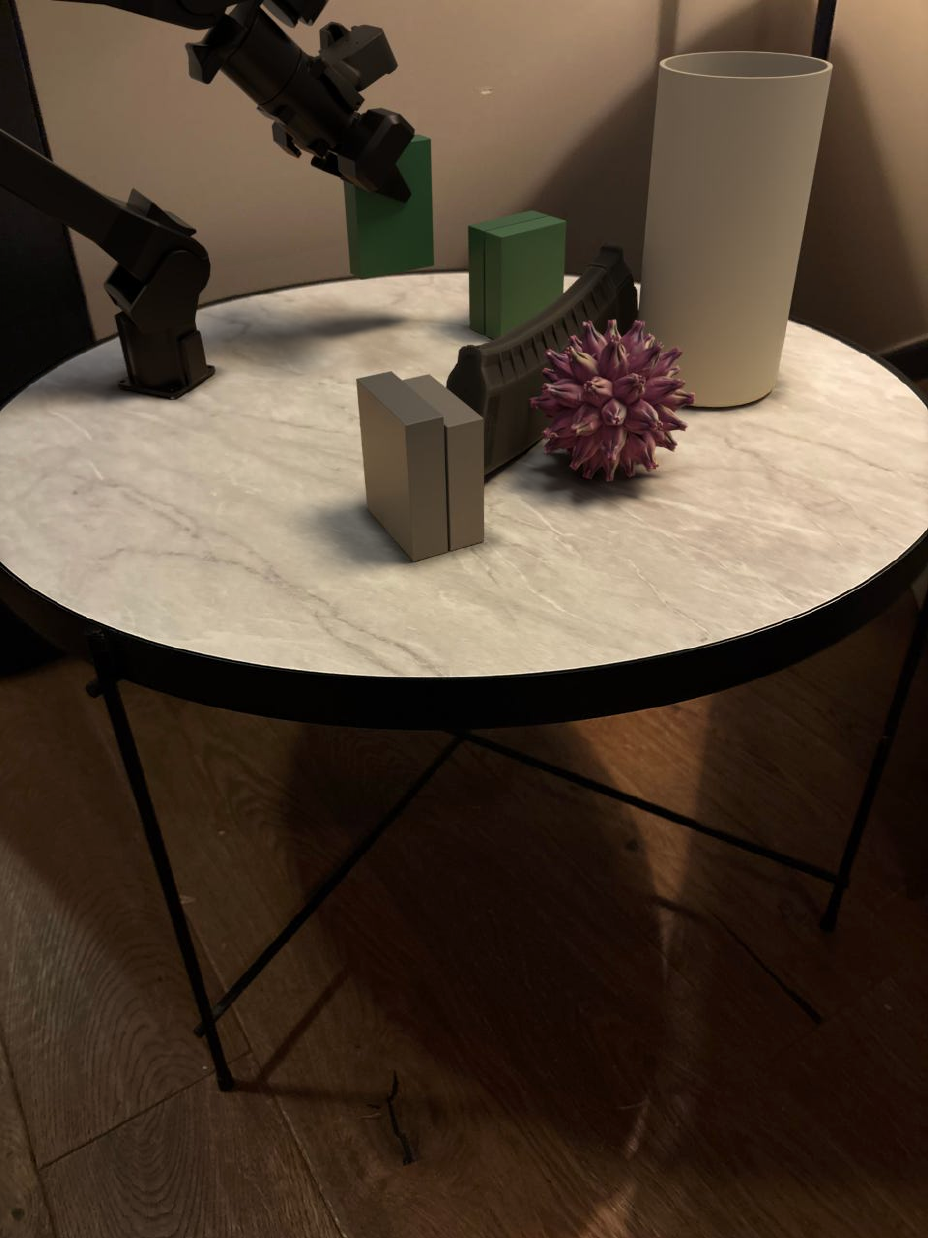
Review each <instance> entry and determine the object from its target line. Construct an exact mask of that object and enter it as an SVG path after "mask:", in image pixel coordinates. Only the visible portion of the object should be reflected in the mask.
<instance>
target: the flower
mask: <svg viewBox="0 0 928 1238" xmlns="http://www.w3.org/2000/svg"><path fill="white" fill-rule="evenodd" d="M644 326H645V321H642V322H640V321H637V320H635V322H634V324H633V326H632V328H631V329H630V330H629V331H628V332H627V333H626V334H625V335H624V336H623V337H622V338H621V336H620V335H619V333H618V331H617V326H616V320H615V319H614V320H611V321H610V320H609V321H608V327H607V330H606V332H605V334H604V336H602V335H601V334H600V333H598V332H597V331H596V330H595V329H594V327H593V324H592V322H591V321H588V323H587V322H583V331H584V335H583V341H582V342H581V341H579V340H578V338H577V337H576V336H575V335H574V336H571V337H570V339H568V341H569V343H570V347H568V348H566V351H565V353H566V354H559V353H555V352H554V351H552V350H550V349H548V350H547V351H546V353H544V354H543V355H544V357H545V358H546V359H547V360H548V361H549V362H550V363H551V366H552V368H553V370H550V369H547V368H544V370H543V371H542V376H544V377H546V378H547V379H549V381H550V382H551V383H552V384H544V386H543V387H542V388H543V392H544V394H542V395H541V396H539V397H535V398H530V399H529V401H530V402H531V403H530V404H531V406H530V407H531V408H537V409H540V410H542V411H543V412H545V416H546V418H554V419H553V421H552V423H551V425H550V426H549V427H548V428H547V429H545V430H544V431H542V433H543V437H542V438H544V440H545V441H547V440H548V441H547V442H545V444H544V446H543V448H545V451H544V452H545V453H546V454H551V453H552V452H555V451H558V450H559V451H560V450H566V451H567V453H568V454H570V455H572V460H571V462H570V464H569V467H570V468H571V469H572V470H574V471H577V470H578V469H579V467H580V466H581V465H582V468H583V470H582V471H583V472H582V478H585V479H587V480H588V479H589V480H592V478H593V476H594V474H595V472H597V471H598V470H599V469H600V468H601V467H603V469H604V472H605V475H606V482H611V481H613V480H614V474H615V471H616V469H617V466H618V465H620V466H622V468H623V469H624V472H625V474H626V476H627V477H629V478H632V477H633V476H634V477H635V475H636V468H635V467H636V463H637V464H640V465H641V466H643V467H644V468H645V470H646V471H647V472H648V473H650V472H651V471H652V470H655V471H656V470H657V468H659V467H660V466H659V463H658V460H657V459H656V447H658V448H665V449H666V450H668V451H670V452H674V453H675V450H676V447H677V446H678V441H676V439H674V438H673V435H672V433H671V432H674V431H682V432H687V431H686V429H687V428H688V427H689V424H688V423H687V422H685V421H683V420H681V419H680V418H679V417H678V416H677V415H676V414H675V412H677V411H678V410H679V409H681V408H682V407H685V406H690V404H694V403H695V402H694V401H695V398H694V396H695V393H689V392H684V391H682V390H680V389H681V388H683V387H684V385H685V384H686V383H685V381H683V380H682V379H675V380H674V379H673V377H674V376H675V375H676V374H678V373H679V372H680V368H679V366H678V365H676V366H674V367H672V365H673V364H674V362H675V361H676V360H677V359H678V358H679V357H680V356H681V355H682V353H683V350H681V351H679V347H676V348H674V349H672V350H671V351H669V352H665V353H660V352H661V350H662V349H663V348H664V345H662V343H661V342H657V343H656V344H655V345H654V346H652V343H653V341H654V339H655V338H654V337H653V335H650V334H647V335H646V336H645V337H644V338H643V329H644Z"/></svg>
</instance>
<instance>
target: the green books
mask: <svg viewBox="0 0 928 1238" xmlns="http://www.w3.org/2000/svg"><path fill="white" fill-rule="evenodd" d="M566 237H567V220H564V219H561V218H559V217H555V216H553V215H548V214H545V213H542V212H539V211H537V210H534V209H533V210H531V209H530V210H528V211H524V212H518V213H515V214H510V215H506V216H502V217H499V218H493V219H490V220H485V221H480V222H477V223H473V224H468V225H467V245H468V246H467V247H468V248H467V250H468V252H467V253H468V258H467V259H468V312H469V313H468V314H469V315H468V316H469V318H468V319H469V323H468V324H469V329H471V330H472V331H475V332H476V333H479V334H481V335H483V336H486V337H487V338H490V339H492V340H495V339H497V338H499V337H501V336H503V335H505V334H507V333H508V332H510V331H511V330H513V329H514V328H516V327H518V326H519V325H521V324H523V323H524V322H526V321H528V320H529V319H531V318H533V317H534V316H536V315H537V314H539V313H540V312H541V311H543V310H544V309H545V308H547V307H548V306H549V305H550V304H551V303H553V302H554V301H555V300H556V299H557V298H559V297H560V296H561V295H562V294H563V293H564V287H565V285H564V284H565V261H566V239H567V238H566Z"/></svg>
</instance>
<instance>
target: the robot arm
mask: <svg viewBox="0 0 928 1238" xmlns="http://www.w3.org/2000/svg"><path fill="white" fill-rule="evenodd" d="M52 1H53V2H54V1H55V2H66V3H76V4H77V3H78V4H89V5H101V6H106V7H110V8H113V9H117V10H120V11H124V12H128V13H131V14H134V15H139V16H142V17H146V18H148V19H153V20H156V21H160V22H163V23H167V24H171V25H174V26H178V27H180V28H185V29H188V30H191V31H192V30H193V31H205V30H207V31H206V33H205V34H204V36H203V38H202V39H201V40H200V41H197V42H190V41H189V42H186V43H184V48H185V51H186V54H187V58H188V60H187V61H188V62H187V63H188V75H189V77H190V78H191V79H193V80H195V81H197V82H199V83H201V84H204V85H210V84H212V81H214V78H216V76H217V74H218V72H219V71H220V72H221V73H222V74H224V76H225V77H227V78H228V79H229V80H230V81H231V82H232V83H233V84H234V85H235V86H237V88H239V90H240V91H242V92H243V93H244V94H245V95H246V96H247V97H248V98H250V100H252V102H254V104H256V105H257V107H256V108H255V109H256V110H257V111H258V112H259V113H260V114H261V115H263V117H264V118H267V119H269V120H271V121H273V123H272V124H271V132H272V141H273V142H274V143H275V144H276V145H277V146H279V147H280V148H281V149H282V150H283V151H284V152H285V153H286V154H288V155H289V156H292V157H294V158H295V159H298V160H299V159H300V158H301V156H302V155H303V152H302V151H304V152H306V153H308V154H310V155H312V157H311V160H310V166H312V167H313V168H316V169H317V170H319V171H322V172H324V173H326V174H329V175H331V176H334V177H337V178H339V179H340V180H341V181H342V182H343V181H345V182H347V183H349V184H351V185H354V186H357V187H360V188H362V189H364V190H366V191H368V192H370V193H372V192H374V193H377V194H380V195H383V196H386V197H389V198H391V199H394V200H397V201H400V202H403V203H406V202H407V201H408V200H409V198H410V197H411V195H412V193H411V191H410V189H409V187H408V185H407V183H406V182H405V180H404V178H403V176H402V174H401V172H400V171H399V169H398V167H397V165H396V162H397V161H398V159H399V158H400V156H401V155H402V154H403V152H404V151H405V149H406V148H407V146H408V145H409V143H410V142H411V140H412V139H413V138H414V135H416V129H415V128H414V127H413V125H411V124H410V122H409V121H408V120H407V119H406V118H404V116H403V115H402V114H401V113H398V112H396V111H392V110H390V109H386V108H384V107H377V108H369V109H367V110H366V111H365V112H362V113H360V112H358V111H359V110H360V108H361V107H362V106H363V104H364V102H365V101H366V98H365V97H363V95H362V94H361V93H360V92H363V91H364V90H366V89H367V88H369V87H371V85H373V84H374V83H375V82H377V81H379V80H380V79H381V78H383V77H384V76H386V75H391V74H392V73H394V72H395V71H396V70H397V69H398V67H399V64H398V61H397V59H396V57H395V54H394V52H393V49H392V47H391V45H390V43H389V41H388V38H387V36H386V34H385V31H384V29H383V27H379V26H374V25H370V24H360V25H352V26H351V27H350V29H348V28H347V27H346V26H344V25H343V24H342V23H340V22H336V21H329V22H328V23H327V24H325V25H324V26H322V27H321V28H320V29H319V30H318V33H319V34H318V35H319V50H317V52H318V54H319V55H315V56H313V55H310V54H308V53H307V52H306V51H305V50H303V49H302V48H301V47H300V46H299V45H298V44H297V42H296V41H294V39H293V38H291V36H290V35H288V33H287V32H285V30H284V29H282V27H281V26H280V25H278V23H277V22H276V21H275V20H274V19H273V18H272V17H271V16H270V15H269V14H268V13H267V12H266V11H265V10H264V9H263V8H262V7H261V6H263V7H264V8H265V9H266V10H267V11H268V12H269V13H270V14H271V15H272V16H273V17H275V18H276V19H277V20H278V21H280V22H281V23H282V24H284V25H285V26H287V27H289V28H291V29H295V28H296V27H297V25H298V24H299V22H300V23H301V24H303V25H305V26H308V27H313V26H314V24H315V23H316V21H317V19H319V16H321V14H322V12H323V10H324V9H325V8H326V6H327V5H328V4H329V2H330V0H52ZM232 6H234V8H232V9H231V11H230V12H229V13H226V11H227V9H228V8H230V7H232ZM301 150H302V151H301ZM0 187H1V188H2V189H4V190H6V191H7V192H9V193H10V194H12V195H14V196H16V197H17V198H19V199H20V200H22V201H23V202H26V203H27V204H29V205H31V206H33V207H35V209H37V210H39V211H41V212H43V213H44V214H46V215H47V216H49V217H51V218H53V219H55V220H56V221H58V222H59V223H61V224H63V225H64V226H66V227H68V228H69V229H71V230H73V231H74V232H76V233H78V234H80V235H82V236H83V237H84V238H86V239H88V240H90V241H91V242H93V243H94V244H96V245H97V246H98V248H100V249H101V250H102V251H103V252H105V253H106V254H107V255H108V256H109V257H111V259H113V260H114V261H115V262H116V264H115V265H114V267H113V269H112V270H111V271H110V273H109V274H108V276H107V277H106V279H105V280H104V282H103V289H104V290H105V292H106V293H107V295H108V296H109V298H110V299H111V301H112V303H113V304H114V305H115V306H116V307H118V308H119V309H120V310H121V311H119V312H118V313H116V314H114V315H113V316H114V322H115V325H116V330H117V334H118V339H119V342H120V343H119V344H120V347H121V351H122V355H123V356H122V357H123V360H124V365H125V369H126V373H127V375H126V376H124V377H122V378H121V379H119V380H117V382H116V385H117V388H119V389H124V390H128V391H134V392H138V393H139V392H140V393H145V394H150V395H156V396H161V397H166V398H178V397H179V396H181V395H183V394H184V393H186V392H187V391H189V390H191V389H192V388H193V387H195V386H196V385H198V384H199V383H201V382H202V381H204V380H205V379H207V378H209V377H211V376H212V375H213V374H215V373H216V366H215V365H212V364H207V359H206V353H205V348H204V343H203V336H202V332H201V330H200V329H198V327H197V322H196V318H197V313H198V306H199V301H200V295H201V294H202V292H203V291H204V290H205V288H207V286H208V282H209V280H210V277H211V269H212V268H211V267H212V265H211V261H210V257H209V252H208V251H207V249H206V247H205V246H204V245H203V244H202V243H200V241H198V240H197V238H195V237H193V236H194V235H196V234H197V232H198V231H197V229H196V228H195V227H193V225H192V226H191V225H190V224H189V223H187V222H186V221H184V220H183V219H182V218H180V217H179V216H178V215H176V214H175V213H173V212H172V211H170V210H165V209H162V208H161V207H160V206H159V205H157V204H156V203H155V202H153V201H152V200H151V199H150V198H148V197H147V196H145V195H144V194H143V193H142V192H140V191H138V190H137V189H136V188H135V187H133V188H131V190H130V193H129V196H128V199H127V202H126V201H124V200H120V199H118V198H115V197H112V196H110V195H108V194H105V193H103V192H101V191H99V190H98V189H96V188H94V186H92V185H90V184H88V183H87V182H85V181H83V180H82V179H80V178H79V177H77V176H75V174H73V173H71V172H70V171H68V170H66V169H65V168H63V167H62V166H60V165H59V164H57V163H55V162H54V161H52V160H51V159H50V158H47V157H46V156H44V155H43V154H41V153H40V152H38V151H37V150H35V149H33V148H31V147H30V146H28V145H27V144H26V143H24V142H22V141H21V140H19V139H17V138H16V137H14V136H13V135H11V134H9V133H8V132H7V131H5V130H3V129H1V128H0Z"/></svg>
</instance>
